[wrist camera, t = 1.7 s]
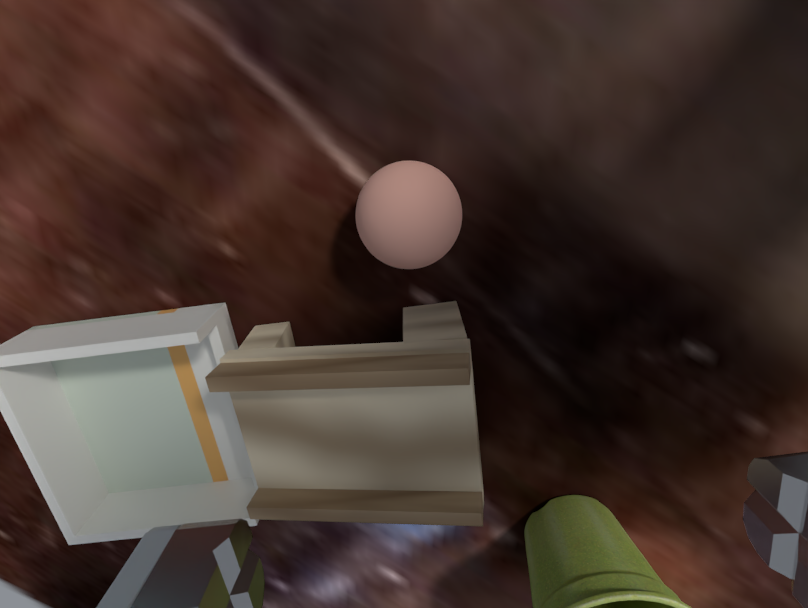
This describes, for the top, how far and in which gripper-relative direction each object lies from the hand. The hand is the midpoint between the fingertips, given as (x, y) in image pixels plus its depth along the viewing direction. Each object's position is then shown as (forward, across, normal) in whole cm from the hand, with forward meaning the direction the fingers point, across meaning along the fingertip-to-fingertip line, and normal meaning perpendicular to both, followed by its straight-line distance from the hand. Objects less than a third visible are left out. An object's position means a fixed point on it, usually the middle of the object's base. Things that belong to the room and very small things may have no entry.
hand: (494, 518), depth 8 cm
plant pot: (+19, -7, +20) cm, 29 cm away
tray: (+19, +17, +7) cm, 27 cm away
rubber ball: (+19, +1, -3) cm, 19 cm away
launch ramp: (+19, +5, +7) cm, 21 cm away
